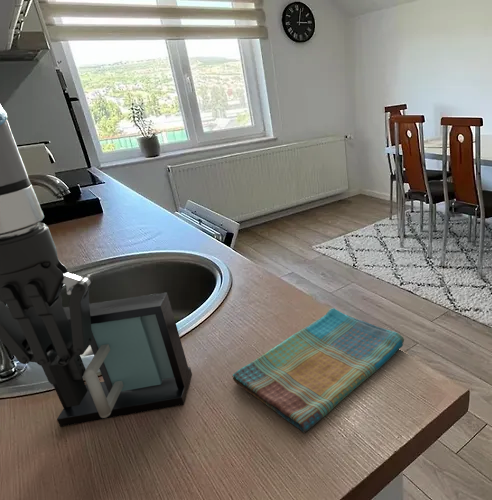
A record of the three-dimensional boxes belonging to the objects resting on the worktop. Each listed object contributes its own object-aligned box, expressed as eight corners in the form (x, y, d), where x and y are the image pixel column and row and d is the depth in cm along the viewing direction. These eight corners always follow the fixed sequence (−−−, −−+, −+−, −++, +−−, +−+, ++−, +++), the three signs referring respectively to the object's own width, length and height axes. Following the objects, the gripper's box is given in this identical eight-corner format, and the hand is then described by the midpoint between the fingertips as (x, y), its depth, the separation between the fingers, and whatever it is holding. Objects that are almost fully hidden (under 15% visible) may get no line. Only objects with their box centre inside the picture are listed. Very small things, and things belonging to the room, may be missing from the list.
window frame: (60, 427, 59) (17, 334, 53) (80, 393, 65) (44, 307, 59) (184, 405, 61) (156, 313, 55) (192, 374, 67) (168, 289, 61)
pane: (91, 427, 56) (60, 355, 51) (111, 389, 62) (85, 322, 58) (149, 417, 57) (124, 344, 52) (162, 381, 63) (141, 314, 59)
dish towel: (408, 347, 70) (407, 334, 69) (306, 437, 54) (304, 422, 53) (333, 315, 80) (332, 304, 79) (231, 383, 65) (228, 370, 64)
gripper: (-90, 251, 41) (6, 430, 50) (52, 234, 42) (120, 410, 52) (-38, 226, 48) (38, 388, 57) (83, 212, 49) (138, 371, 59)
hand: (77, 398), depth 54 cm, fingers closed
